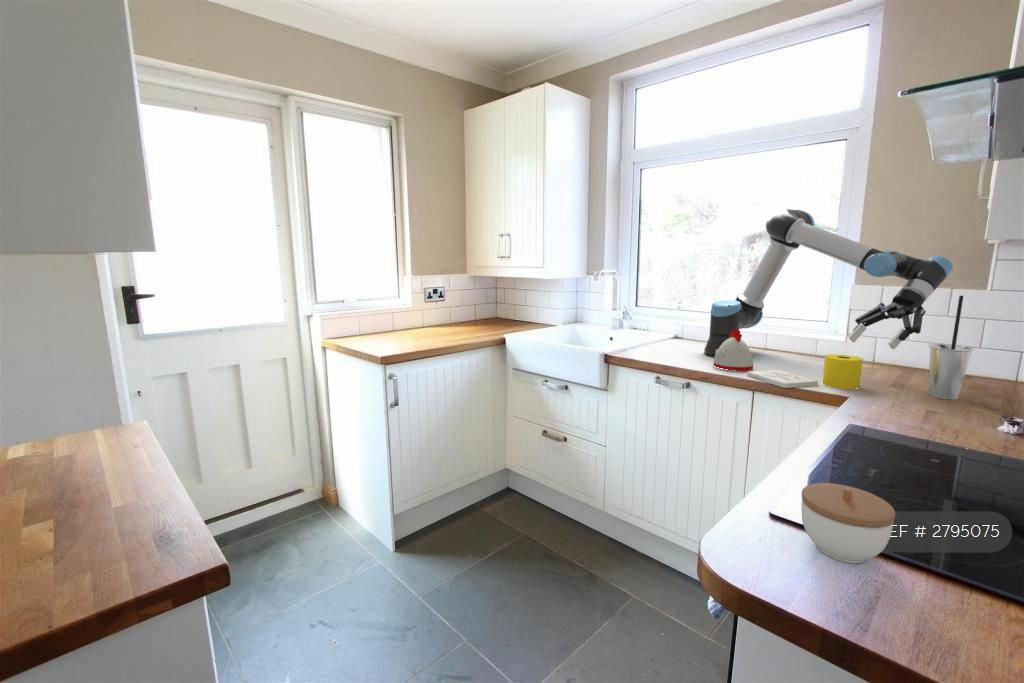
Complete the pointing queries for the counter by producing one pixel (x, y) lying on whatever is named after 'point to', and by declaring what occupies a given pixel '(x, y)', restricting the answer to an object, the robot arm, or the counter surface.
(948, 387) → the cup with straw
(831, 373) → the tape roll
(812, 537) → the lidded jar
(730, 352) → the kitchen timer
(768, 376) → the marked board
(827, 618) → the counter surface
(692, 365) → the counter surface
